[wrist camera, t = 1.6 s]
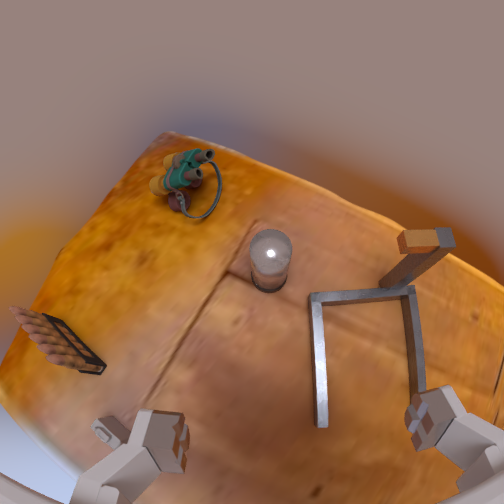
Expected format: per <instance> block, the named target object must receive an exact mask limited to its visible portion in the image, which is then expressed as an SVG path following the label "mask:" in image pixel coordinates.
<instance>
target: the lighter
mask: <svg viewBox="0 0 504 504" xmlns="http://www.w3.org/2000/svg"><path fill="white" fill-rule="evenodd" d="M91 428H92V429H93V430H94V431H95V434H96V435H97V436H98V437H99V438H100V439H101V440H102V441H103V442H104V443H107V444H108V445H109V446H110V447H111V448H112V449H115V450H116V449H117V448H118V447H120V446H121V445H122V444H123V443H124V444H127V443H128V440H129V437H130V434H131V432H130V431H129V430H127V429H126V428H125V427H124V426H123V425H122V424H121V423H120V422H119V421H118V420H116V419H115V418H114V417H113V416H109V417H104V418H99V419H95V421H94V422H93V424H92V425H91Z"/></svg>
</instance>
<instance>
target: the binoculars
mask: <svg viewBox="0 0 504 504" xmlns="http://www.w3.org/2000/svg"><path fill="white" fill-rule="evenodd" d="M214 155H215V152H214V150H213V149H207V150H204V151H202V150H201V149H193V150H190V151H184V152H182V153H174V154H170V155H167V156H166V157H165V158H164V161H163V165H164V168H165V169H166V170H167V173H166V175H160V176H156V177H153V178H152V179H151V181H150V184H149V187H150V190H151V192H152V193H153V194H154V195H156V196H163V195H166V194H168V195H169V198H168V203H169V206H170V208H171V209H172V210H173V211H181V210H182V212H183V214H184V215H185V216H187V217H189V218H202V217H205V216H207V215H208V214H209V213H210V212H211V211H212V210H213V209H214V207H215V206H216V204H217V202H218V200H219V197H220V193H221V188H222V179H221V174H220V171H219V169H218V167H217V165H216V163H215V162H213V161H209V160H212V159H213V157H214ZM207 162H208V163H211V164H212V165H213V167H214V169H215V171H216V174H217V178H218V190H217V195H216V198H215V200H214V203H213V204H212V206H211V207H210V209H209V210H208V211H207V212H206V213H205V214H204V215H202V216H200V217H194V216H191V215H189V214H188V213H187V212H186V210H185V209H187V208H188V207H189V205H190V196H189V194H188V193H187V192H186V191H180V190H177V189H179V188H182V187H185V188H187V189H191V188H195V187H198V186H199V185H200V184H201V182H202V177H203V172H202V170H201V169H200V168H198V167H199V166H200V165H201V164H204V163H207ZM171 191H172V192H171Z"/></svg>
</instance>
